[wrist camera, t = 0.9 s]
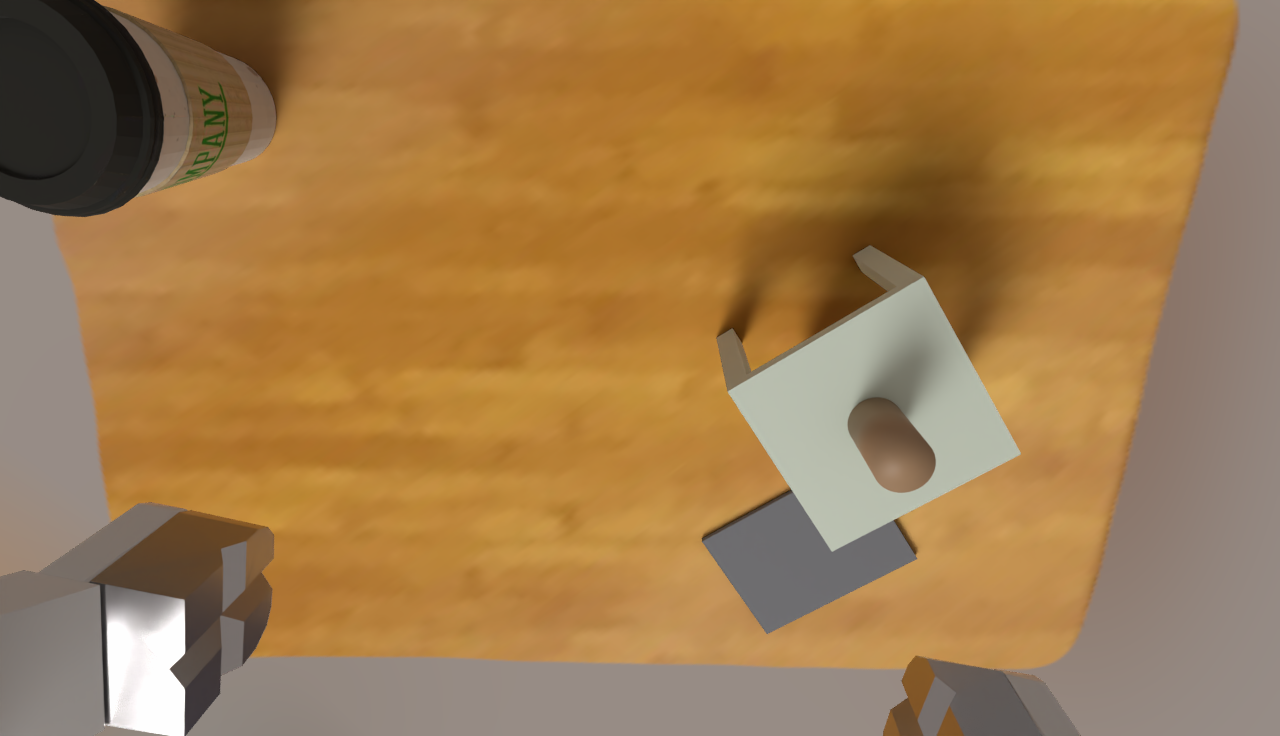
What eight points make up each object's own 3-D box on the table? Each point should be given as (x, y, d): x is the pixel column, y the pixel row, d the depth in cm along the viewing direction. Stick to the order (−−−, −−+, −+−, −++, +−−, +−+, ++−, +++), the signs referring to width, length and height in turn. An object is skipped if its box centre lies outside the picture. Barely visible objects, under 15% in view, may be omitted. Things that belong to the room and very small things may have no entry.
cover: (869, 245, 45) (962, 299, 31) (950, 388, 48) (1070, 500, 33) (716, 337, 48) (735, 429, 33) (800, 469, 50) (852, 608, 36)
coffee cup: (187, 211, 47) (-28, 246, 32) (116, 47, 44) (-154, 7, 29) (330, 170, 45) (173, 188, 31) (267, -1, 43) (62, -67, 28)
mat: (853, 456, 50) (855, 458, 49) (915, 555, 52) (917, 558, 51) (701, 538, 52) (702, 541, 52) (766, 630, 54) (767, 633, 54)
